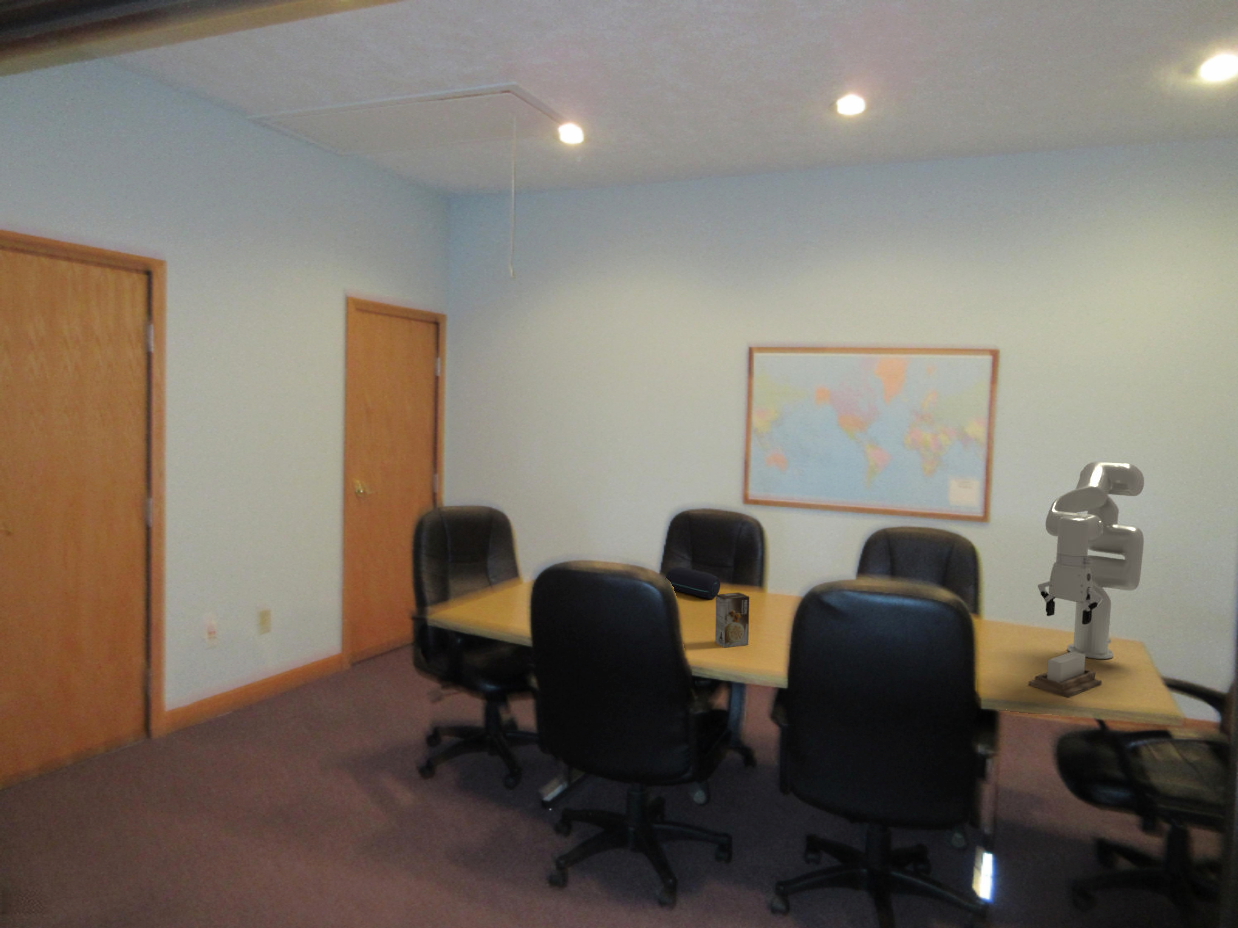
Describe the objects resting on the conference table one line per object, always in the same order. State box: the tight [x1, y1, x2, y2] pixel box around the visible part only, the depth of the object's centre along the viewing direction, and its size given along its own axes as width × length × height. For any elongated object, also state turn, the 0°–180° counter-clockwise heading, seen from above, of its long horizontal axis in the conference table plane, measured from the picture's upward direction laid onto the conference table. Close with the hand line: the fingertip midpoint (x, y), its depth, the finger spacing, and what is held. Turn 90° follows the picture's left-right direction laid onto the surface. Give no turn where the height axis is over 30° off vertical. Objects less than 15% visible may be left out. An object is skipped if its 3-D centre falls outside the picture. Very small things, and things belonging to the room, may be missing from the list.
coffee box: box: [714, 592, 750, 648], centre depth 253 cm, size 9×6×16 cm
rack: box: [1027, 668, 1103, 698], centre depth 222 cm, size 19×11×3 cm, turn 125°
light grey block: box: [1047, 651, 1086, 683], centre depth 221 cm, size 14×4×7 cm, turn 125°
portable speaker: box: [665, 566, 721, 600], centre depth 318 cm, size 25×10×10 cm, turn 42°
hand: (1067, 619), depth 222 cm, fingers open, 9 cm apart
